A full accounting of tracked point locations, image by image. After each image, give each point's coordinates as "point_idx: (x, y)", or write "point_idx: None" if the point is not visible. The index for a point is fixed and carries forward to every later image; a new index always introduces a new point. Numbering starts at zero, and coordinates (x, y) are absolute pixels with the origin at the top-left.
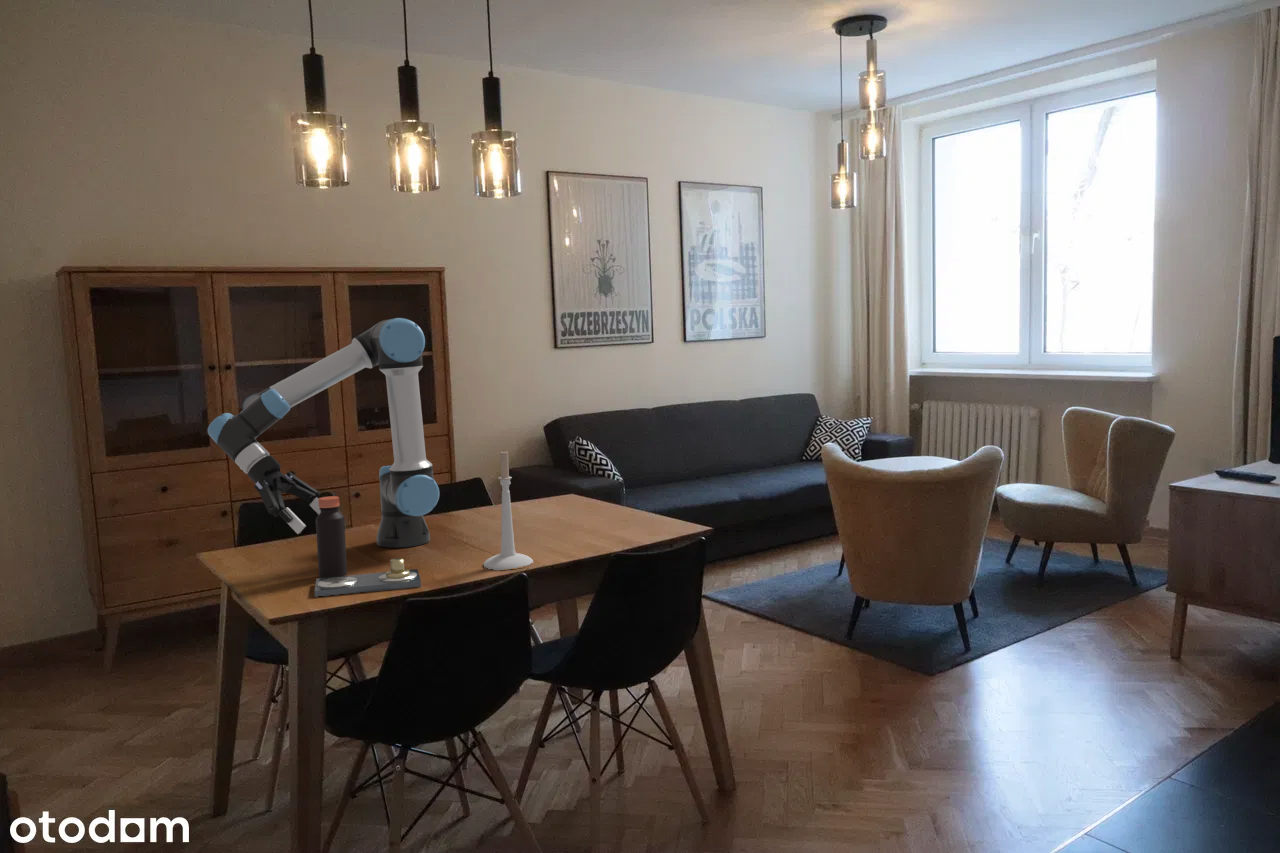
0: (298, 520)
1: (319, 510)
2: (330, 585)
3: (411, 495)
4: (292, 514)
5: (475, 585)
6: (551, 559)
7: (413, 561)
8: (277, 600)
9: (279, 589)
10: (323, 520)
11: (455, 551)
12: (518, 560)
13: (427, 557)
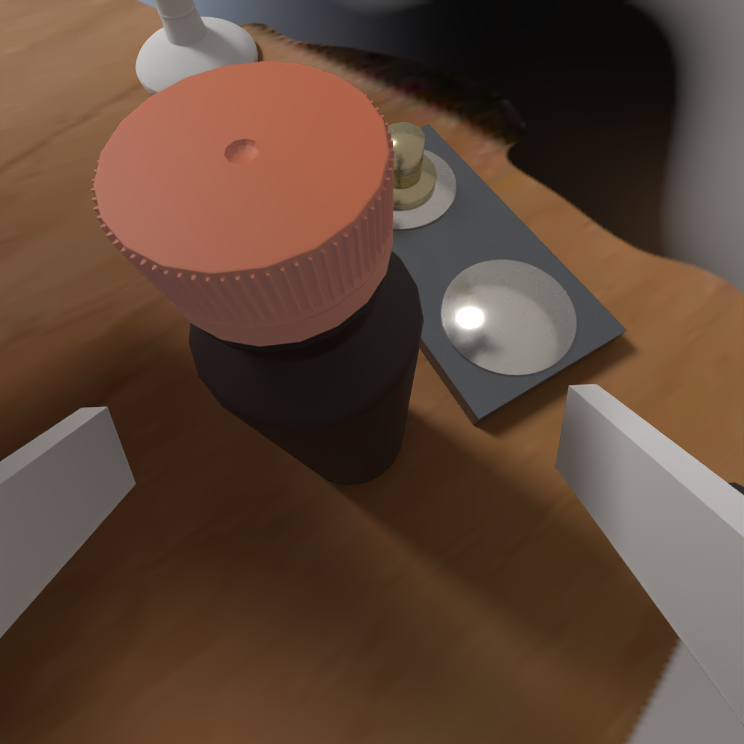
0: (649, 424)
1: (24, 557)
2: (558, 309)
3: None
4: (734, 488)
5: (391, 58)
6: (158, 15)
7: None
8: (697, 446)
9: (574, 539)
10: (420, 304)
11: (24, 210)
12: (222, 20)
13: (93, 252)
